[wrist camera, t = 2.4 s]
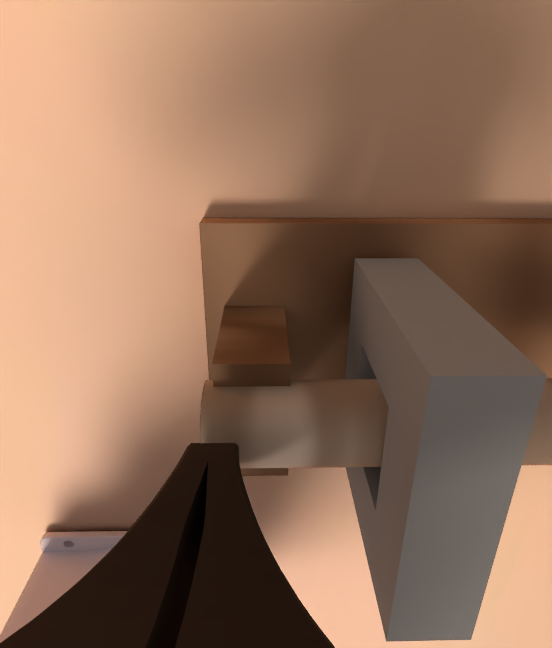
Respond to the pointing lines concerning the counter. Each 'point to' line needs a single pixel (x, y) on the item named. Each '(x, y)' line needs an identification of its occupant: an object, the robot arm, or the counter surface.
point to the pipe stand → (347, 327)
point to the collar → (435, 445)
